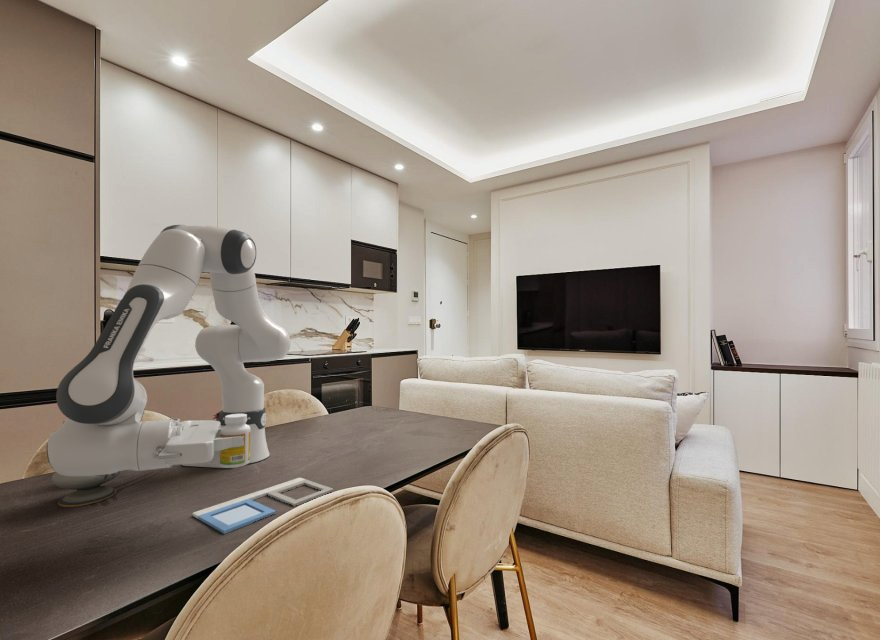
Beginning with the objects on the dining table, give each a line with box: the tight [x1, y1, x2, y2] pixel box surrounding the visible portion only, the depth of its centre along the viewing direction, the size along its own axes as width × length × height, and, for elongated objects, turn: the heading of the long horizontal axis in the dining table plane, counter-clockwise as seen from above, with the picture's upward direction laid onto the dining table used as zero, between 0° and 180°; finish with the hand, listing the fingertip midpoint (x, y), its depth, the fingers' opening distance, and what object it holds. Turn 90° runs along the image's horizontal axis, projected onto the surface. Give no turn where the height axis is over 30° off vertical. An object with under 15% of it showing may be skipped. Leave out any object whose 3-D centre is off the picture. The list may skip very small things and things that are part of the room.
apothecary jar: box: [51, 418, 122, 508], centre depth 93 cm, size 12×12×18 cm
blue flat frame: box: [192, 477, 335, 535], centre depth 90 cm, size 25×13×1 cm, turn 144°
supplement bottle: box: [220, 414, 250, 469], centre depth 83 cm, size 5×5×10 cm
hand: (243, 436), depth 84 cm, fingers closed on supplement bottle, 5 cm apart
